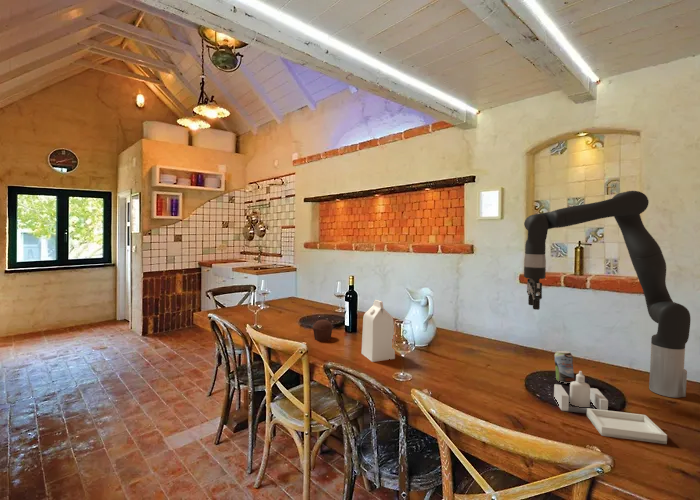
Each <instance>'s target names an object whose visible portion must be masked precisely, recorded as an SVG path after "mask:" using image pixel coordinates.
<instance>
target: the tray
mask: <svg viewBox="0 0 700 500" xmlns="http://www.w3.org/2000/svg"><path fill="white" fill-rule="evenodd" d="M586 417H587V418H588V419H589V420H590V422H591V424H592V425H593V426H594V428H595V429H596V430H597V431H598V433H599V434H600V436H603V437H611V438H617V439H626V440H633V441H641V442H645V443H646V442H649V443H654V444H660V445H667V443H668V434H666V432H664V431H663V430H662V429H661V428H660V427H659V426H658V425H657V424H655V423H654V421H652V419H650V417H648V416H647V415H646V414H640V413H633V412H632V413H631V412H624V411H615V410H599V409H595V408H591V407H590V408H587V413H586Z"/></svg>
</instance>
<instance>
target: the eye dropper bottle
mask: <svg viewBox="0 0 700 500" xmlns="http://www.w3.org/2000/svg"><path fill="white" fill-rule="evenodd" d="M585 379H586V377H585V375H584V374H583V371H582V370H579V371H578V373H577V374H576V375H575V380H574V381H573V382H571V383H570V384H569V397H570V399H569V402H570V403H569V405H570V404H572V405H575V406H579V407H590V408H591V404H590V388H591V386H590V384H589V383H587V382H585V381H586V380H585Z"/></svg>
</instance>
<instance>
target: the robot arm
mask: <svg viewBox="0 0 700 500" xmlns="http://www.w3.org/2000/svg"><path fill="white" fill-rule="evenodd" d="M649 202H650V201H649V198H648V196H647V195H646V194H645V193H644V192H641V191H638V190H627V191H622V192H620V193H619V192H618V193H616V194H615V195H613V197H611V198H608V199H604V200H601V201H596V202H591V203H584V204H578V205H573V206H567V207H563V208H558V209H555V210H553V211H548V212H541V213H535V214H531V215H528V217H526V218H525V220H524V222H523V224H524V225H523V226H524V228H525V229H526V230H527V239H526V241H525V246H524V257H523V258H524V260H523V278H526V280H527V283H526V284H527V287H526V293H527V296H528V303H527V304H528V305H529V306H532V309H533V310H540V308H541V307H540V304H541V300H542V298H543V294H542V293H543V283H542V282H540V280H544V279H546V274H547V273H546V270H547V269H546V268H547V259H546V258H547V257H546V241H547V237H548V232H549V231H548V230H550V229H551V230H552V229H558V228H565V227H570V226H575V225H580V224H583V223H587V222H593V221H595V220H596V221H597V220H602V219H607V218H612V217H613V218H614V219H615V221H616V223H617V226H618V227H619V228H620V232H621V234H622V237H623V240H624V243H625V245H626V249H627V251H628V255H629V257H630V262H631V263H632V265H633V268H634V271H635V274H636V276H637V279H638V282H639V284H640V286H641V289H642V292H643V295H644V300H645V304H646V305H645V306H646V309H647V312H648V315H649V317H650V318H651V320H652V321H653V322H654V323H657V333H656V334H652V335H651V341H650V361H649V363H650V364H649V382H648V385H649V386H648V389H649V391H651V392H653V393H655V394H657V395H660V396H663V397H669V398H686V397H687V378H688V371H687V369H685V357H686V355H685V354H686V353H685V352H686V344H687V342H688V341H689V338H690V330H691V320H692V319H691V313H690V311H689V309H688V307H686V306H685V305H682V304H680V303H679V302H678V303H677V302H674V301H673V299H672V297H671V295H670V293H669V290H668V288H667V284H666V283H667V281H666V280H667V279H666V278H667V263H666V259H665V257H664V254H663V252H662V249H661V247H660V245H659V243H658V242H657V241H656V239H655V238H654V237H653V236H652V234H651V233H650V232H649V231H648V230H647V228H646V226H645V224H644V223H643V219H642V218H641V214H643V213H644V212H645V211H646V210H647V209H648V207H649V204H650V203H649Z"/></svg>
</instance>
